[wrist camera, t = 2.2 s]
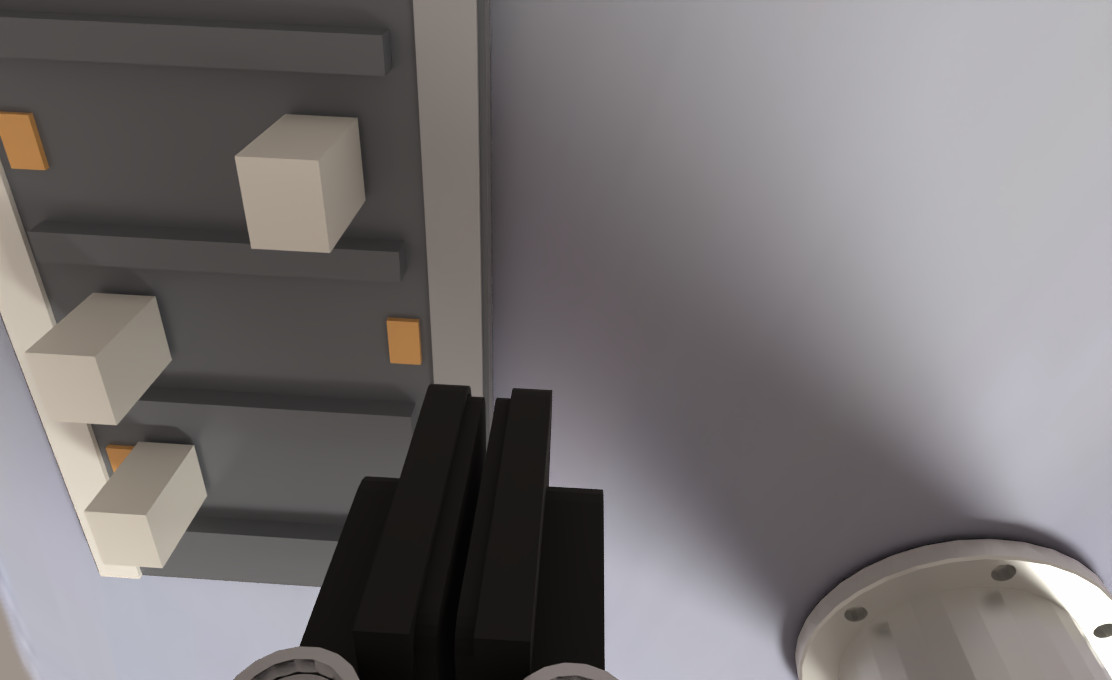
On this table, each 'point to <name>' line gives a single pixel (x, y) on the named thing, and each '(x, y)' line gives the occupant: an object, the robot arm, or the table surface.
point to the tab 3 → (302, 182)
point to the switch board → (225, 251)
